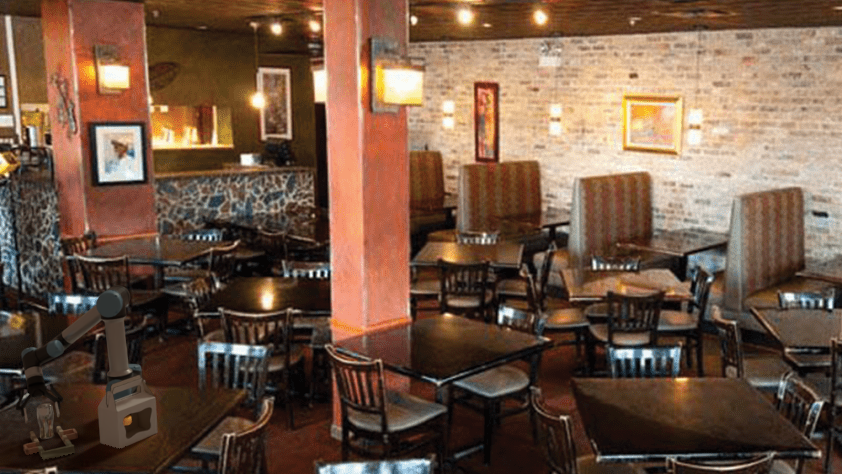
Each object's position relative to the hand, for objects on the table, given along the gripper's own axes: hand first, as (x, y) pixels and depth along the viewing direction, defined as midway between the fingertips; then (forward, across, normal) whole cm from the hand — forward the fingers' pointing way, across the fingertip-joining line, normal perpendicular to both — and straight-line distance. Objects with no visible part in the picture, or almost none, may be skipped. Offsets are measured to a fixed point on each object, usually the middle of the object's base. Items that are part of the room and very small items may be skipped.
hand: (42, 418), depth 385 cm
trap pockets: (+14, -1, +2) cm, 14 cm away
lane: (+15, -1, +3) cm, 15 cm away
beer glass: (+7, -1, -5) cm, 9 cm away
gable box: (+23, -32, +11) cm, 41 cm away
